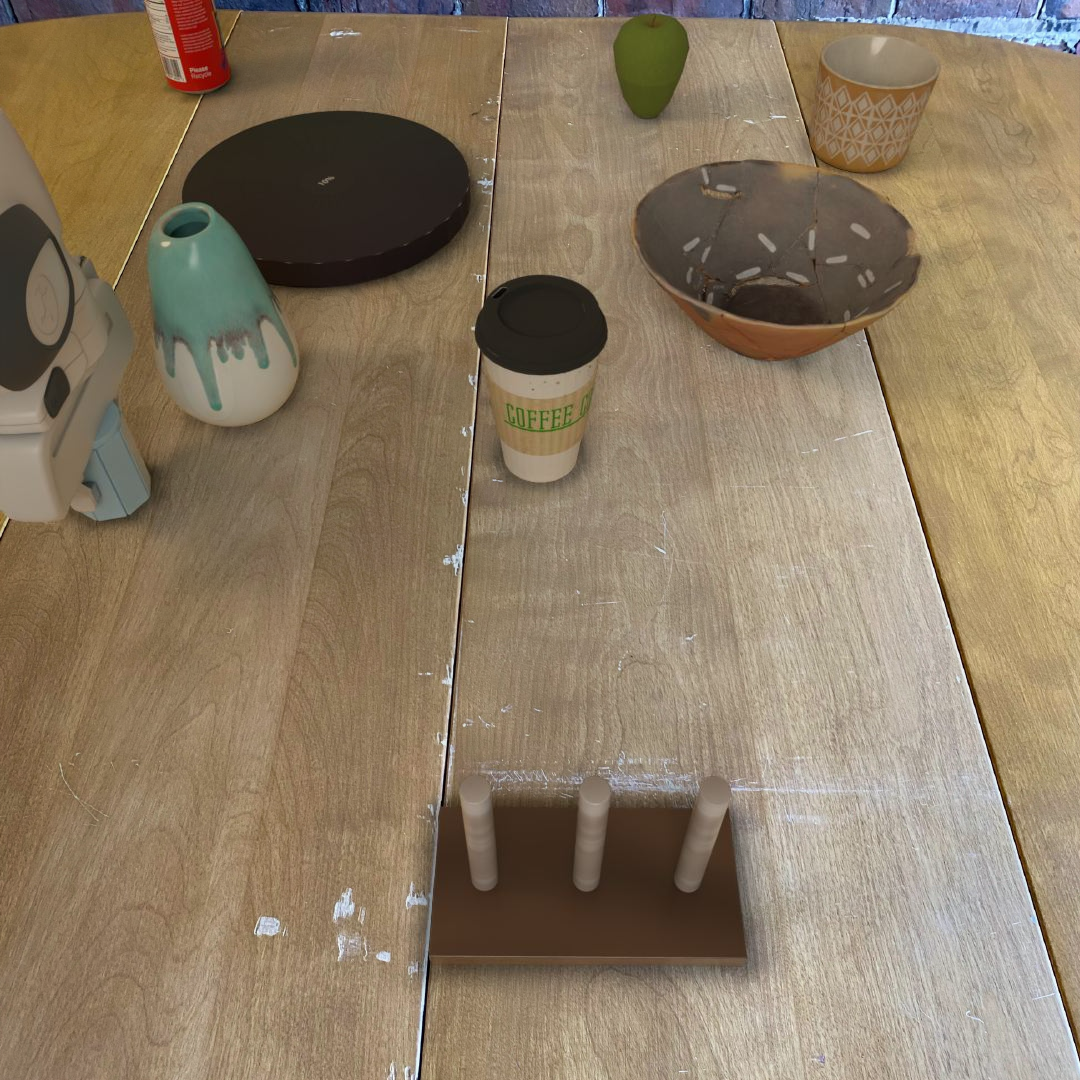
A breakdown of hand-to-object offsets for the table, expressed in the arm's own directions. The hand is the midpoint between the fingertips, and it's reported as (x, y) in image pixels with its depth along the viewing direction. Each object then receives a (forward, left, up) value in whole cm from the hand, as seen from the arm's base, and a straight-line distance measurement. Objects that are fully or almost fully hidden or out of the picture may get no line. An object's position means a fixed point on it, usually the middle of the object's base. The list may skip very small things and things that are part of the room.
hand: (102, 469), depth 78 cm
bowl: (+59, +8, -3) cm, 59 cm away
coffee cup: (+35, -4, -3) cm, 35 cm away
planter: (+82, +35, -3) cm, 89 cm away
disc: (+22, +38, -3) cm, 44 cm away
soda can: (+9, +69, -3) cm, 70 cm away
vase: (+11, +9, -3) cm, 14 cm away
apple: (+61, +49, -3) cm, 78 cm away
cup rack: (+29, -40, -3) cm, 49 cm away
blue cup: (0, 0, -3) cm, 3 cm away
